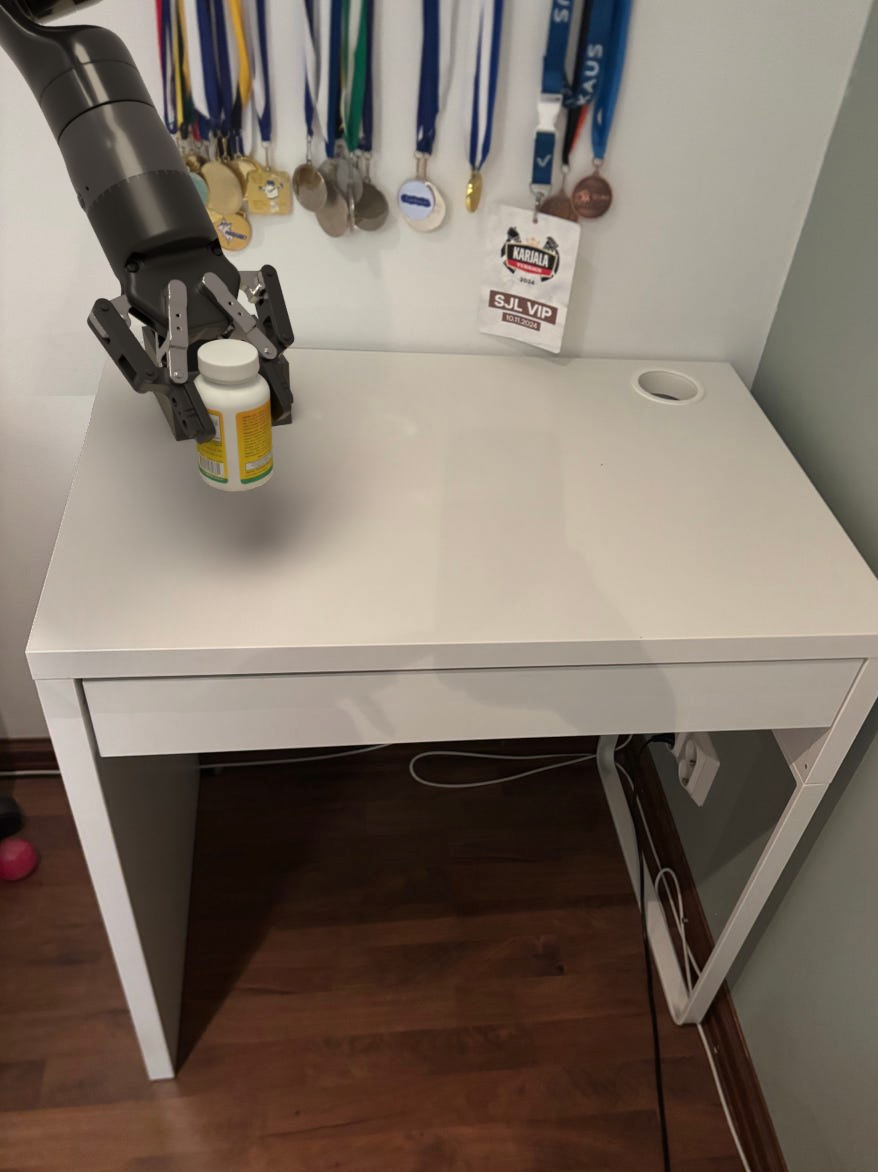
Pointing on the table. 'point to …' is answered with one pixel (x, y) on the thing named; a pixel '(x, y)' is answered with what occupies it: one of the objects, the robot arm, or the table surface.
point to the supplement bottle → (234, 416)
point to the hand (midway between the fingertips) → (246, 426)
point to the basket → (193, 373)
